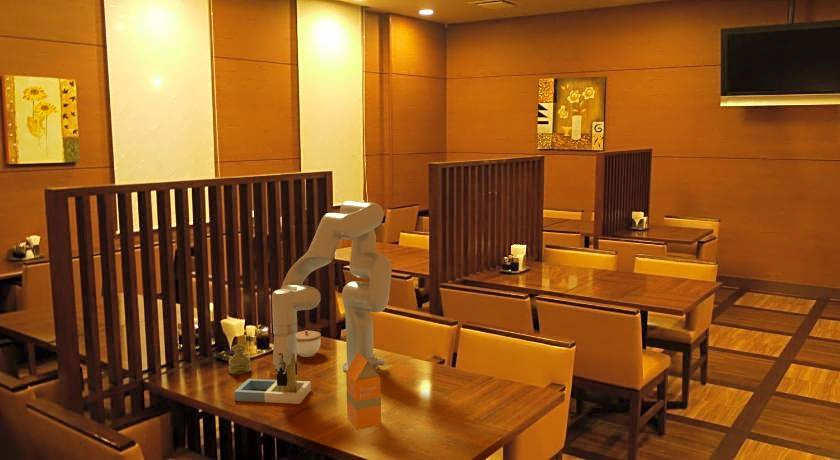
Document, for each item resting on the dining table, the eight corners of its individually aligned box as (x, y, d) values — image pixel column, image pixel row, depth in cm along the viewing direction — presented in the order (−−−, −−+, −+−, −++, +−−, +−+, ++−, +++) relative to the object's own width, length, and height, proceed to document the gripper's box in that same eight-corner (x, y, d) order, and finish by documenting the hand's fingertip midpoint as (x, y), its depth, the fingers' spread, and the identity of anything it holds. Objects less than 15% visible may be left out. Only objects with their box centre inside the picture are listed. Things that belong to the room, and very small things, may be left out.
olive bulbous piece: (255, 370, 251) (253, 343, 250) (239, 376, 245) (238, 348, 243) (240, 366, 255) (239, 340, 254) (224, 372, 249) (223, 345, 247)
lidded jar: (308, 360, 260) (307, 336, 259) (287, 356, 266) (286, 332, 265) (327, 352, 269) (326, 329, 268) (306, 348, 275) (305, 325, 274)
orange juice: (356, 429, 201) (354, 362, 198) (347, 418, 209) (344, 353, 206) (382, 424, 204) (380, 358, 201) (371, 413, 212) (370, 349, 209)
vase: (293, 400, 223) (291, 357, 221) (275, 399, 224) (273, 356, 222) (300, 393, 229) (298, 350, 227) (283, 391, 230) (281, 350, 228)
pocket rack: (310, 390, 231) (310, 381, 231) (299, 403, 220) (299, 394, 220) (248, 387, 235) (248, 378, 234) (234, 400, 223) (234, 391, 223)
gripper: (283, 320, 232) (285, 370, 235) (263, 335, 215) (266, 389, 218) (305, 321, 231) (307, 371, 234) (287, 336, 214) (289, 390, 217)
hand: (287, 380), depth 226 cm, fingers open, 9 cm apart
